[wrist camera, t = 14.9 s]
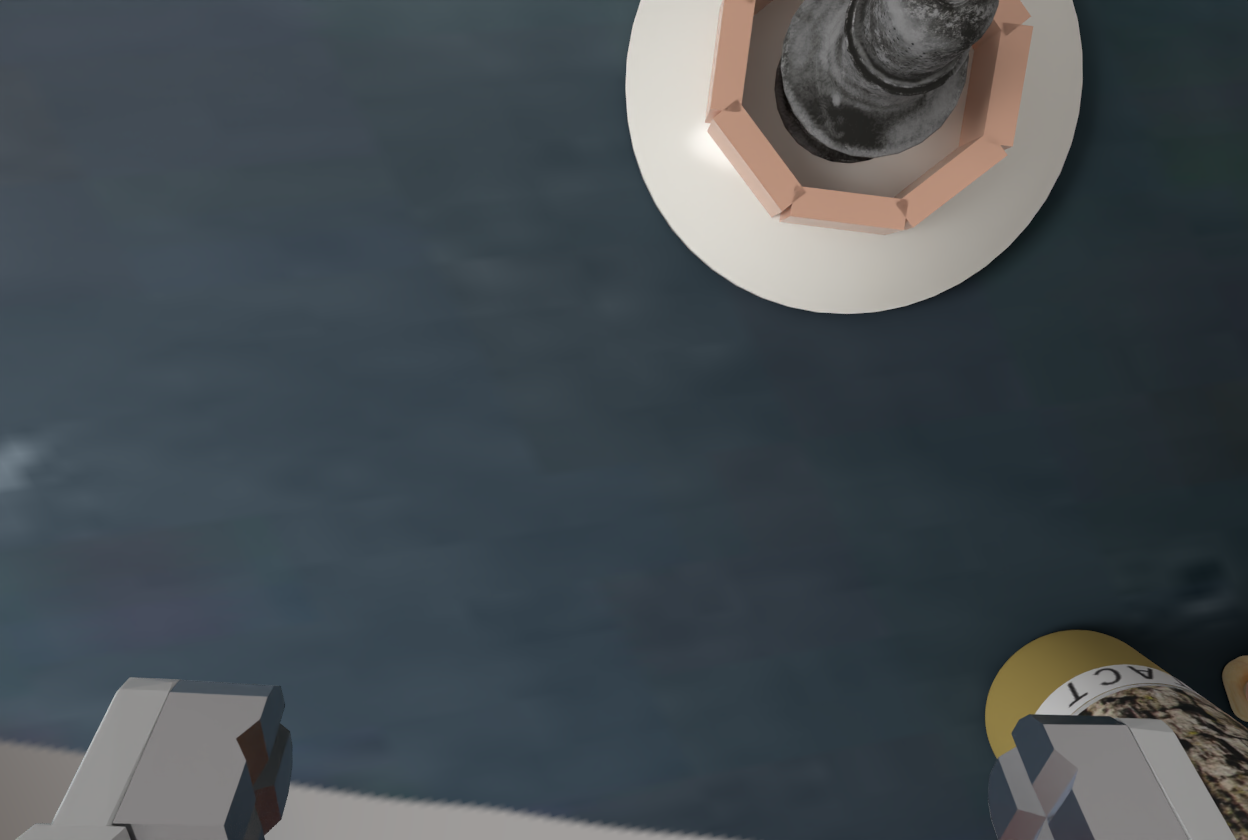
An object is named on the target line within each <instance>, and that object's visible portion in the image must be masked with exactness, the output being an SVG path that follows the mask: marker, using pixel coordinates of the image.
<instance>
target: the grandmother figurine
mask: <svg viewBox="0 0 1248 840" xmlns="http://www.w3.org/2000/svg"><path fill="white" fill-rule="evenodd" d="M1222 679H1223V684H1224V687H1225V690H1226V693H1227V696H1228V700H1229V702H1230V705H1231V708H1232V710H1233V712H1234V714H1235V715H1236V716H1237V717H1238V718H1240V719H1241V720H1243V721H1246V722H1248V655H1245V656H1240V657H1238V658H1236V659H1234V660H1232V661H1231V662H1229V663H1228V664H1227V665H1226V666H1225V668H1224V670H1223V673H1222Z"/></svg>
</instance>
